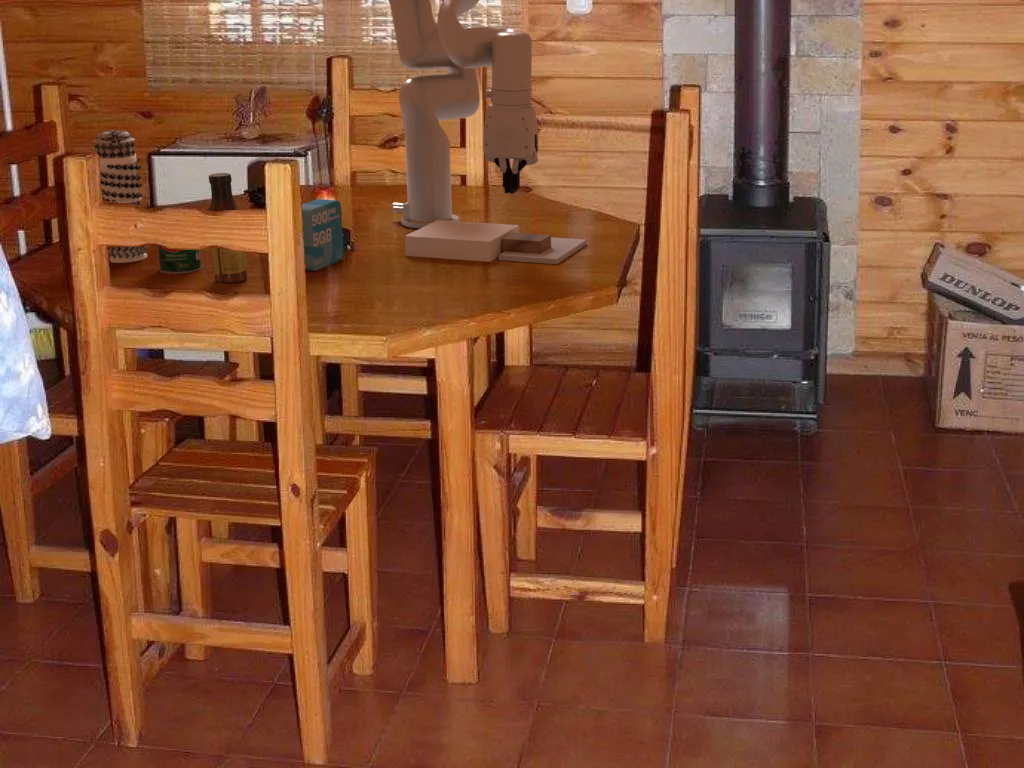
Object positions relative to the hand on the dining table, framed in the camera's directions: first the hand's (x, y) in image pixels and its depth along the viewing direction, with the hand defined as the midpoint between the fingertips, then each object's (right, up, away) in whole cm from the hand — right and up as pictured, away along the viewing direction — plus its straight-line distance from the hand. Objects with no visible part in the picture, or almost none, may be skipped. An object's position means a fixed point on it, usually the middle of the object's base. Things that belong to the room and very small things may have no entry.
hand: (511, 191), depth 291 cm
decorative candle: (-77, -13, +5) cm, 78 cm away
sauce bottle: (-52, -18, -14) cm, 57 cm away
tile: (+3, -11, +2) cm, 12 cm away
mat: (+6, -11, +4) cm, 14 cm away
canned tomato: (-64, -16, -5) cm, 66 cm away
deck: (-10, -11, +7) cm, 16 cm away
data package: (-37, -15, -3) cm, 40 cm away
